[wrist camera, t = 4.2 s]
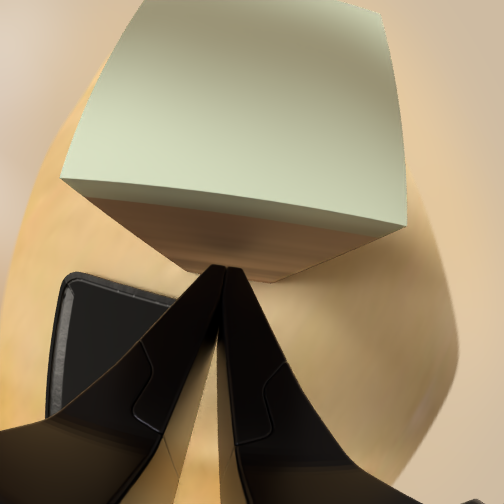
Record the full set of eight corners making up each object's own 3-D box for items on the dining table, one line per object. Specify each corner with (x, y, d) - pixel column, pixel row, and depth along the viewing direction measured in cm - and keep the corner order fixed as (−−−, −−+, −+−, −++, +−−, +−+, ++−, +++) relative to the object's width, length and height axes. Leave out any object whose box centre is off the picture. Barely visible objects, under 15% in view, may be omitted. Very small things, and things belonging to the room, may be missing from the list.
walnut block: (271, 283, 16) (407, 225, 4) (186, 271, 16) (59, 177, 3) (280, 202, 17) (380, 14, 4) (200, 191, 17) (156, -17, 4)
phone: (47, 479, 12) (64, 266, 15) (54, 473, 14) (73, 269, 16) (155, 523, 13) (196, 305, 15) (158, 513, 14) (199, 304, 16)
